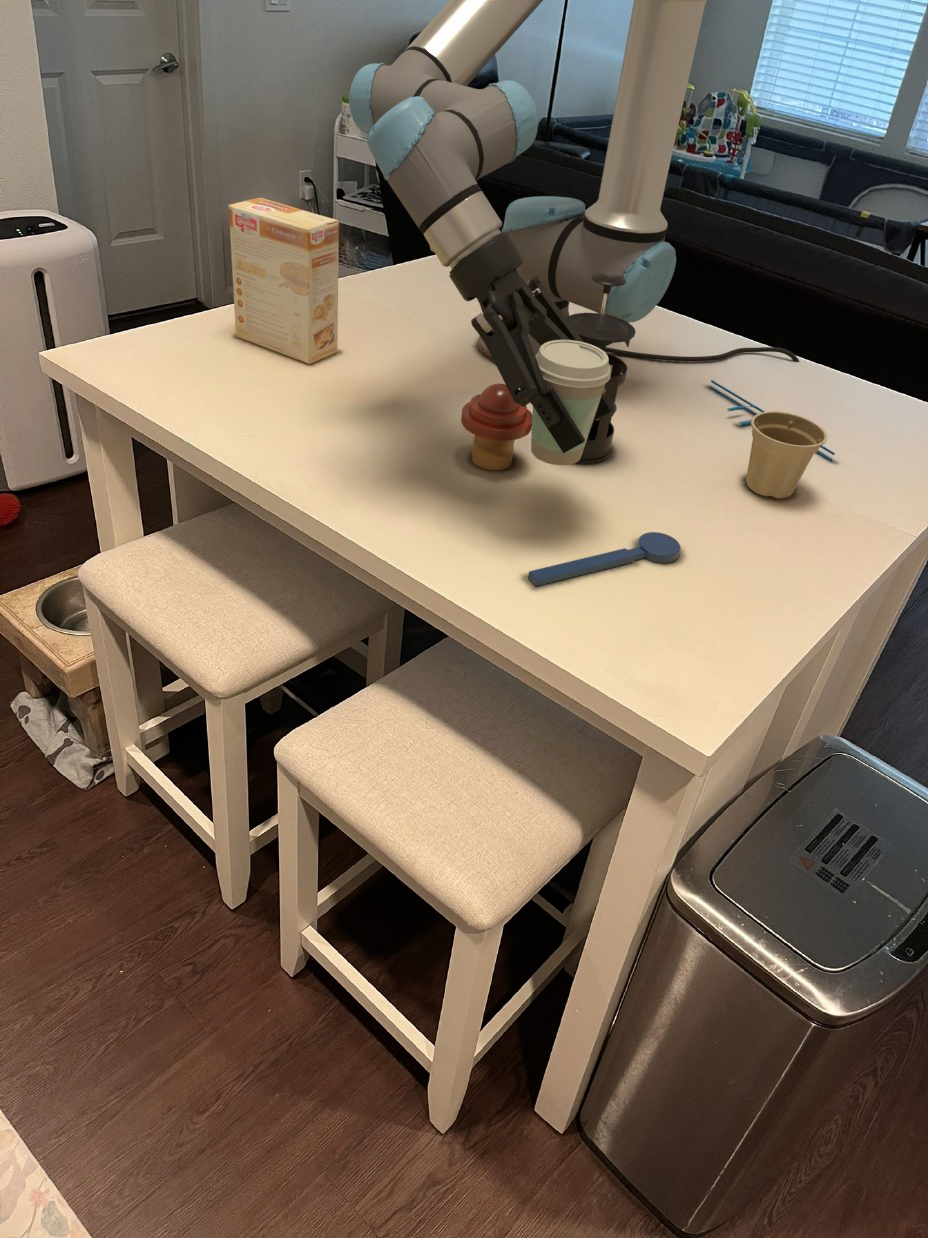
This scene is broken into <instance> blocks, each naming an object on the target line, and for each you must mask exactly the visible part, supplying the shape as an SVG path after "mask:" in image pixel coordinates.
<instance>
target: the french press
mask: <svg viewBox="0 0 928 1238" xmlns="http://www.w3.org/2000/svg"><path fill="white" fill-rule="evenodd" d="M591 278H592V280H593V281H595V282H596V283H599V284H602V285H603V293H604V299H603V304H602V309H601V314H599V313H597V312H577V313H572V314H569V316H568V317H566V319H567V320H568V322H569V323H570V324H571V326H572V327H573V328H574V330H575V331H576V332H577V334H578V335H579V336H580V338H581V339H582V340H583V342H584V343H588V344H591V345H593V346H596V347H598V348H600V349H602V348H604V347H608V346H611V345H612V344H616V343H625V345H626V347H627V348H629V346H630V343H631V342H630V341H631V340H632V339H633V338H634V337H635V335H636V328H635V327H634V326H633V324H631V323H630V322H629V323H628V322H626V321H624V320H622V319H620V318H617V317H613V316H610V315H605V314H604V309H605V304H606V299H607V294H609V293H610V290H611V286H622V285H624V284H625V283H626V280H625V279H624V278H622V277H620V276H618V275H615V274H611V273H596V274H594V275H592V277H591ZM605 353H606V354H607V356H608V359H609V366H611V370H610V379H609V381H608V382H606V383H605V386H604V392H603V394H604V395H605V397H606V399H607V400H608V402H609V403H610V405H611V407H612V408H613V410H612V411H611V412H609V413H607V414H606V415H604V416H602V417H600V418H598V419H597V420H595V421H593V423H592V426H591V429H590V432H589V435H588V437H589V438H591V439H592V440H591V439H587V441H586V444H585V447H584V450H583V453H582V456H581V458H580V460H579V461H578V462H576V463H575V464H578V465H594V464H599V463H601V462H604V461H607V460H608V459H609V458H610V457H611V454H612V451H613V449H612V443H613V439H614V434H615V427H614V424H613V423H612V418H613V416H614V415H615V414H616V412H617V411H618V407H617V404H616V400H617V394H618V391H619V386H621V385H622V384H623V383H625V381H626V378H627V373H628V365H627V364H626V362H625V361H624V360H622V359H621V358H620V357H617V356H616V355H614V354H612V353H609V352H605Z"/></svg>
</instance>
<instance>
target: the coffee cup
mask: <svg viewBox="0 0 928 1238" xmlns="http://www.w3.org/2000/svg"><path fill="white" fill-rule="evenodd" d="M606 353H607V352H604V351H603V350H601V349H600V348H598V347H596V346H593V345H591V344H588V343H584V342H579V341H573V340H554V341H549V342H546V343H544V344H543V345H542V346H541V347H540V349H539V351H538V353H537V355H536V359H537V362H538V365H539V368H540V370H541V373H542V376H543V379H544V381H545V384H546V387H547V391H549V390H551V389H552V388H553V390H554V391H555V393H556V394H557V396H558V397H559V399H560V401H561V402H562V404H563V405H564V407H565V408H566V410H567V412H568V413H569V415H570V416H571V418H572V420H573V421H574V423H575V424H576V426H577V427H578V429H579V431H580V432H581V434H582V435H583V437H584V439H585V441H584V442H583V443H582V444H580V445H578V446H576V447H574V448H573V449H571V450H569V451H567V452H565V453H563V452H562V450H561V449H560V447H559V446H558V444H557V443H556V441H555V439H554V438H553V436H552V435H551V433H550V432H549V430H548V429H547V427H546V425H545V424H544V422H543V421H542V419H541V418H540V416H539V415H538V413H537V412H536V410H535V408H534V407H533V406H532V412H531V414H532V429H531V440H530V441H531V443H530V451H531V454H532V455H533V456H534V457H535V458H536V459H537V460H539V461H541V462H543V463H546V464H549V465H553V466H554V465H555V466H570V465H571V466H572V465H574V464H577V463H576V462H578V461H579V460H580V458H581V456H582V453H583V450H584V447H585V444H586V441H587V440H588V437H589V436H588V435H589V432H590V429H591V426H592V423H593V420H594V417H595V414H596V411H597V408H598V405H599V402H600V399H601V396H602V393H603V394H604V390H605V388H604V386H605V383H606V382H608V381H609V379H610V376H611V367H610V365H609V359H608V356H607V354H606Z"/></svg>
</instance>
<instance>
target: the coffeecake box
mask: <svg viewBox="0 0 928 1238" xmlns="http://www.w3.org/2000/svg"><path fill="white" fill-rule="evenodd" d="M228 218H229V219H228V220H229V222H228V223H229V238H230V239H229V240H230V254H231V258H230V259H231V270H232V273H231V274H232V287H233V288H232V290H233V291H232V292H233V308H234V324H235V325H234V326H235V337H236V338H239V339H242V340H244V341H248V342H250V343H253V344H255V345H257V346H260V347H263V348H265V349H269V350H271V351H274V352H277V353H279V354H282V355H284V356H287V357H289V358H292V359H294V360H297V361H300V362H303V363H305V364H308V365H311V364H313V363H316V362H317V361H320V360H322V359H325V358H327V357H330V356H332V355H335V354H336V353H338V352H339V350H338V348H339V347H338V339H339V335H338V334H339V333H338V331H339V250H340V249H339V248H340V247H339V246H340V245H339V244H340V238H339V237H340V220H338V219H335V218H331V217H328V216H326V215H325V216H324V215H321V214H317V213H315V212H311V211H307V210H303V209H300V208H298V207H293V206H290V205H286V204H283V203H280V202H276V201H273V200H269V199H266V198H263V197H256V198H251V199H246V200H243V201H238V202H235V203H230V204H228Z"/></svg>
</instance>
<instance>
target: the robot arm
mask: <svg viewBox="0 0 928 1238" xmlns="http://www.w3.org/2000/svg"><path fill="white" fill-rule="evenodd" d="M543 1H544V0H449V1H448V2H447V3H446V4H445V6H444V7H443V8H442V9H441V10H440V11H439V12H438V13H437V14H436V15H435V16H434V18H433V19H432V20H431V21H430V22H429V23H428V24H427V25H426V27H425V28H424V29H423V30H422V31H421V32H420V33H419V34H418V35H417V37H416V38H414V40H413V41H412V42H411V43H410V44H409V45H408V46H407V47H406V48H405V50H404V51H403V52H402V53H401V54H400V55H399V56H398V57H397V58H396V59H395V61H394V62H393V63H392V64H387V63H385V62H381V63H376V62H374V63H369V64H366V65H364V66H362V67H360V69H359V70H358V71H357V72H356V74H355V76H354V78H353V79H352V82H351V84H350V89H349V95H348V104H349V105H348V106H349V113H350V115H351V118H352V120H353V122H354V125H355V126H356V127H357V128H358V129H359V130H360V131H361V132H362V133H364V134H366V135H367V146H368V149H369V151H370V153H371V156H372V157H373V159H374V161H375V163H376V165H377V167H378V168H379V170H380V171H381V173H382V176H383V178H384V180H385V181H387V183H388V185H389V186H390V188H391V189H392V191H393V192H394V194H395V195H396V197H397V198H398V200H399V201H400V203H401V204H402V206H403V207H404V209H405V210H406V212H407V213H408V214H409V216H410V217H411V219H412V220H413V222H414V224H415V225H416V226H417V228H418V230H419V231H420V233H421V234H422V235H423V236H424V238H425V240H426V241H427V243H428V245H429V249H430V251H431V252H432V253H434V255H436V257H437V259H438V260H439V261H440V264H441V266H443V267H445V268H448V267H450V271H448V272H449V279H450V280H451V282H452V283H453V285H454V286H455V288H456V289H457V291H458V293H459V294H460V295H461V297H462V299H463V300H464V301H465V302H472V301H473V300H475V299H476V300H477V302H478V304H479V307H480V309H481V310H480V311H481V312H480V313H479V314H477V315H476V316H474V317H473V318H472V319H471V320H470V323H471V326H472V328H473V329H474V330H475V331H476V333H477V334H478V335H479V336H478V343H477V345H478V349H479V351H480V352H481V353H482V354H483V355H484V356H485V357H487V358H488V359H490V360H492V361H493V362H494V365H495V366H496V368H497V370H498V372H499V374H500V376H501V378H502V380H503V382H504V384H505V385H506V386H507V388H508V390H509V392H510V394H511V396H512V398H513V400H514V401H515V403H517V404H520V405H521V406H522V407H524V406H528V405H529V404H531V406H532V408H533V407H534V408H535V410H536V412H537V413H538V415H539V416H540V418H541V419H542V421H543V422H544V424H545V425H546V427H547V429H548V430H549V432H550V433H551V435H552V436H553V438H554V439H555V441H556V443H557V444H558V446H559V447H560V449H561V450H562V452H563V453H565V452H567V451H569V450H571V449H573V448H574V447H576V446H578V445H580V444H582V443H583V442H584V441H585V439H584V437H583V435H582V434H581V432H580V431H579V429H578V427H577V426H576V424H575V423H574V421H573V420H572V418H571V416H570V415H569V413H568V412H567V410H566V408H565V407H564V405H563V404H562V402H561V401H560V399H559V397H558V396H557V394H556V393H555V391H554V390H553V388H552V389H551V390H549V391H547V387H546V384H545V381H544V379H543V376H542V373H541V370H540V368H539V365H538V362H537V359H536V355H537V353H538V351H539V349H540V347H541V346H542V345H543V344H544V343H546V342H549V341H554V340H573V341H579V342H583V340H582V339H581V338H580V336H579V335H578V334H577V332H576V331H575V330H574V328H573V327H572V326H571V324H570V323H569V322H568V320H567V319H566V317H568V316H570V312H569V311H570V310H569V308H570V304H574V305H576V306H579V307H581V308H585V309H587V310H589V311H592V312H593V313H599V314H601V309H602V304H603V299H604V293H603V285H602V284H599V283H596V282H595V281H593V280H592V278H591V277H592V275H594V274H596V273H611V274H615V275H618V276H620V277H622V278H624V279H625V280H626V283H625V284H624V285H622V286H611V290H610V293H609V294H607V299H606V304H605V309H604V314H605V315H610V316H613V317H617V318H620V319H622V320H624V321H626V322H628V323H629V324H630V323H636V322H639V321H640V320H642V319H644V318H645V317H647V316H648V315H649V314H650V313H651V312H652V311H653V310H654V309H655V308H656V307H657V306H658V304H659V303H660V302H661V300H662V298H663V297H664V295H665V294H666V291H667V290H668V288H669V285H670V284H671V281H672V278H673V276H674V272H675V269H676V266H677V265H676V264H677V256H676V249H675V248H674V247H673V246H672V245H671V244H670V242H667V241H665V239H666V234H667V230H668V226H669V225H668V221H667V220H666V218H665V216H664V215H663V213H662V212H661V206H662V202H663V198H664V192H665V189H666V185H667V184H666V183H667V179H668V175H669V170H670V166H671V162H672V161H671V160H672V157H673V151H674V147H675V142H676V138H677V133H678V129H679V123H680V119H681V116H682V111H683V107H684V101H685V96H686V93H687V88H688V84H689V83H688V82H689V80H690V79H689V78H690V75H691V70H692V66H693V65H692V64H693V61H694V56H695V52H696V47H697V42H698V37H699V33H700V28H701V24H702V19H703V14H704V10H705V5H706V4H707V2H708V0H633V4H632V8H631V9H632V10H631V15H630V19H629V20H630V21H629V26H628V30H627V37H626V41H625V42H626V43H625V48H624V53H623V58H622V59H623V60H622V63H621V71H620V75H619V82H618V86H617V94H616V98H615V104H614V111H613V115H612V121H611V125H610V126H611V127H610V132H609V138H608V144H607V148H606V149H607V150H606V154H605V160H604V166H603V172H602V177H601V182H600V188H599V193H598V199H597V201H596V202H595V203H593V204H592V205H591V206H589V207H588V208H587V209H586V203H584V202H583V201H582V200H580V199H577V198H573V197H565V196H554V195H553V196H551V195H550V196H549V195H544V196H541V195H540V196H529V197H523V198H518V199H516V200H514V201H512V202H510V204H509V205H508V206H507V208H506V211H505V216H504V220H503V222H502V220H501V219H500V217H499V216H498V214H497V213H496V210H494V208H493V207H492V205H491V203H490V201H489V200H488V198H487V197H486V196H485V194H484V192H483V190H482V189H481V187H480V185H478V182H477V180H480V179H481V178H483V177H485V176H487V175H489V174H490V173H493V172H494V171H496V170H498V169H499V168H501V167H504V166H505V165H507V164H511V163H513V161H515V160H516V157H518V156H520V155H521V154H523V153H524V152H526V151H527V150H528V149H529V148H530V147H531V146H532V145H533V143H534V142H535V140H536V137H537V134H538V130H539V129H538V128H539V127H538V126H539V120H538V119H539V117H538V110H537V107H536V103H535V101H534V100H533V97H532V96H531V95H530V93H529V91H528V90H527V89H526V88H525V87H524V86H523V85H522V84H520V83H518V81H517V82H516V81H513V80H501V81H498V82H493V83H489V84H488V85H487V86H486V87H484V88H480V89H478V88H474V87H470V86H469V84H470V83H471V82H472V81H473V80H474V79H475V78H476V77H477V76H478V74H479V73H480V72H481V71H482V70H483V69H484V67H485V66H486V65H487V64H488V63H489V62H490V61H491V60H492V58H494V56H495V55H496V54H497V53H498V51H499V50H500V49H501V48H502V47H503V46H504V45H505V44H506V43H507V42H508V40H510V38H511V37H512V36H513V35H514V34H515V33H516V31H518V29H519V28H520V27H521V26H522V25H523V24H524V22H525V21H526V20H527V19H528V18H529V17H530V16H531V15H532V13H534V11H535V10H536V9H537V8H538V7H539V5H541V4H542V2H543ZM501 228H502V229H501ZM500 229H501V230H500ZM601 350H603V351H604V352H605V353H608V354H613V355H614V354H615V355H621V356H627V357H633V358H639V359H645V360H646V359H647V360H655V361H656V360H658V361H671V362H710V361H711V362H712V361H719V360H723V359H724V360H725V359H726V358H729V357H732V356H735V355H737V354H743V353H780V354H784V355H786V356H788V357H790V359H791V360H792V361H793V362H795V363H800V359H799V358H798V357H797V355H796V354H795V353H793V352H792V351H790V350H788V349H786V348H783V347H776V346H759V347H758V346H757V347H740V348H735V349H732V350H730V351H727V352H724V353H720V354H715V355H705V356H704V355H703V356H701V355H700V356H681V355H664V354H655V353H654V354H653V353H651V354H650V353H644V352H637V351H629V350H624V349H618V348H614V347H613V348H612V347H608V346H606V347H604V348H602V349H601ZM612 410H613V408H612V407H611V405H610V403H609V402H608V400H607V399H606V397H605V395H604V392H603V393H602V396H601V399H600V402H599V405H598V408H597V411H596V414H595V417H594V420H593V421H595V420H597V419H598V418H600V417H602V416H604V415H606V414H607V413H609V412H611V411H612Z"/></svg>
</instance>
